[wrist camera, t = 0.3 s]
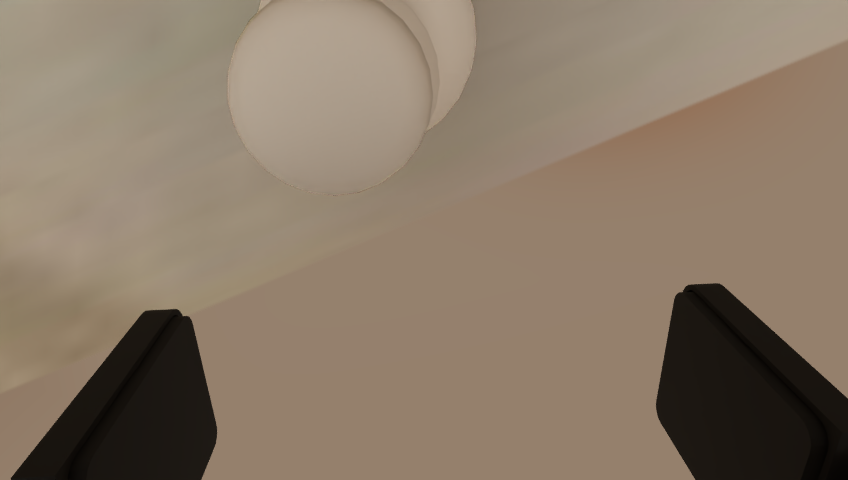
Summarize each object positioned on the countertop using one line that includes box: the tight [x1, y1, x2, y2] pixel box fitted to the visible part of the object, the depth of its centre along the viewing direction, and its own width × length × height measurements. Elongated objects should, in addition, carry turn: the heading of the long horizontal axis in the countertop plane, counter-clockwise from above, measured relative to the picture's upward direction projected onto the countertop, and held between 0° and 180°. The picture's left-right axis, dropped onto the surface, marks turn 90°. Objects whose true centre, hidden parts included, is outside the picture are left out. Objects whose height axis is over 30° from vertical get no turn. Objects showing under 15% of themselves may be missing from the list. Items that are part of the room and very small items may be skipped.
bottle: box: [228, 0, 477, 196], centre depth 23 cm, size 8×8×30 cm
